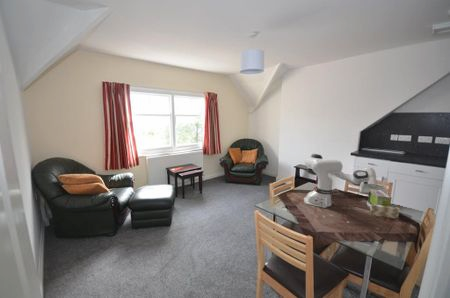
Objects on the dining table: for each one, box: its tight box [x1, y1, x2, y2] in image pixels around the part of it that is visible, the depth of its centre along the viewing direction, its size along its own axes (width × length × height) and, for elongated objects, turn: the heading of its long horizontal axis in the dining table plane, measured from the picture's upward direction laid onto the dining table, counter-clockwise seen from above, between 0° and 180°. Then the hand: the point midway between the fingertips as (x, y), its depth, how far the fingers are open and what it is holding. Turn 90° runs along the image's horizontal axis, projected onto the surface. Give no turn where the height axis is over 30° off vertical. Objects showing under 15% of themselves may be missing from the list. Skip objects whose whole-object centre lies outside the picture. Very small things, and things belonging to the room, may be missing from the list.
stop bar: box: [369, 204, 401, 219], centre depth 159 cm, size 18×3×8 cm, turn 75°
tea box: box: [366, 189, 392, 208], centre depth 168 cm, size 15×10×15 cm, turn 167°
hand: (374, 199), depth 176 cm, fingers closed, pressing on tea box
